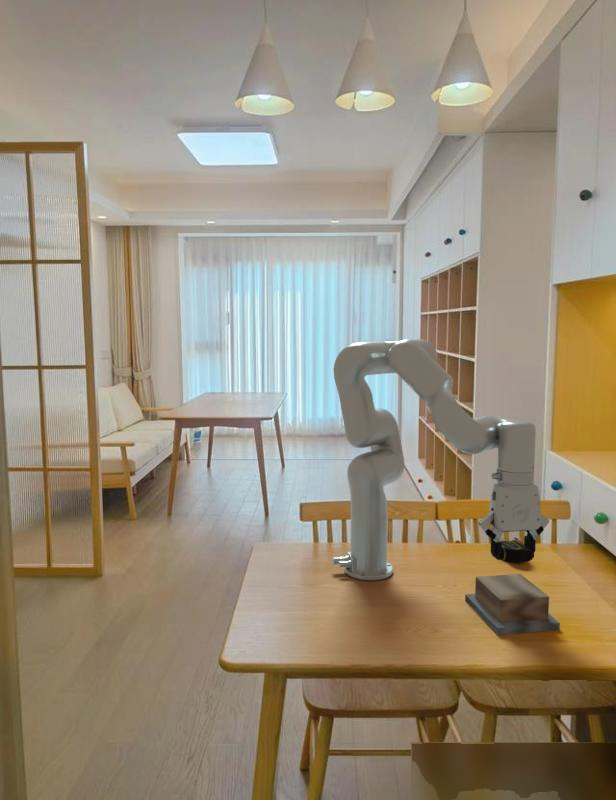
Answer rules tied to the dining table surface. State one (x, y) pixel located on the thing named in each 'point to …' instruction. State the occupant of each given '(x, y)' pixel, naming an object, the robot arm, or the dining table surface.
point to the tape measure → (515, 552)
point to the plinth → (511, 605)
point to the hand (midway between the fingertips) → (512, 555)
